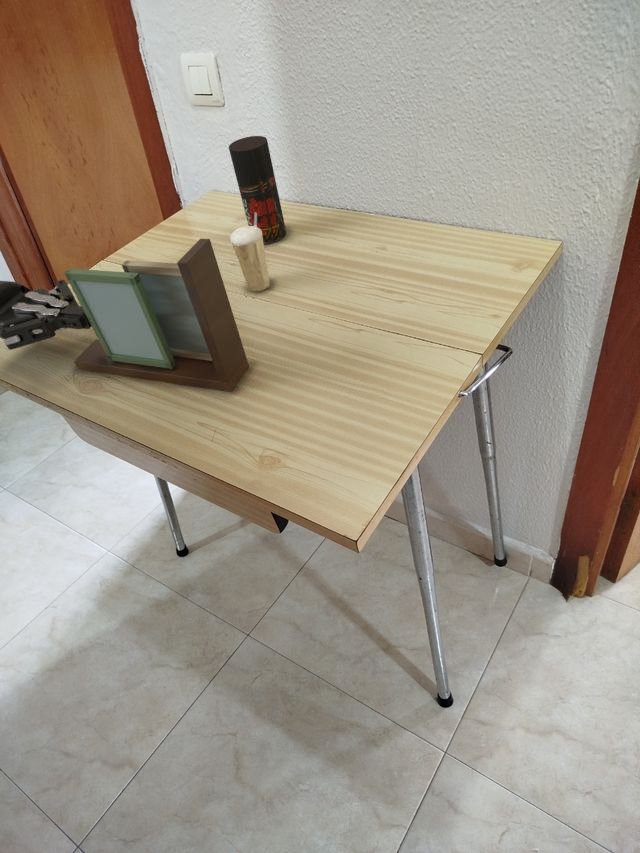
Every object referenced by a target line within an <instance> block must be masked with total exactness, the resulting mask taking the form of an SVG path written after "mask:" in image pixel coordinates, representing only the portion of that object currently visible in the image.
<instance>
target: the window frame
mask: <svg viewBox="0 0 640 853" xmlns="http://www.w3.org/2000/svg"><path fill="white" fill-rule="evenodd" d="M121 267H122V270H123V272H129V273H138V274H139V276H140V279H141V281H142V284H143V286H144V288H145V291H146V293H147V296H148V298H149V300H150V303H151V305H152V308H153V310H154V312H155V315H156V317H157V320H158V322H159V324H160V327H161V329H162V332H163V334H164V336H165V339H166V341H167V343H168V346H169V348H170V351H171V353H172V355H173V358H174V360H175V362H176V365H175V366H174V367H173V369H169V368H162V367H155V366H147V365H140V364H133V363H125V362H118V361H111V360H109V359H108V357H107V355H106V353H105V351H104V349H103V347H102V345H101V343H100V341H99V340H98V338H97V339H96V338H95V339H94V340H93V341H92V342H91V343H90V344H89V345H88V346H87V347H86V348H85V349H84V350H83V351H82V352H81V354H80V355H79V356H77V357H76V358H75V360H74V361H73V363H74V365H75V367H76V368H77V370H81V371H87V372H92V373H93V372H94V373H99V374H107V375H115V376H122V377H127V378H133V379H140V380H148V381H155V382H161V383H162V382H163V383H167V384H175V385H182V386H189V387H195V388H203V389H208V390H209V389H210V390H217V391H223V392H230V393H231V392H233V390H234V389H235V387H236V386H237V384H238V383H239V381H240V380H241V378H242V377H243V376H244V374H245V373H246V371H248V368H250V365H249V361H248V359H247V355H246V352H245V348H244V344H243V342H242V339H241V335H240V331H239V329H238V325H237V322H236V319H235V316H234V312H233V309H232V306H231V303H230V299H229V296H228V293H227V290H226V287H225V284H224V280H223V276H222V274H221V271H220V267H219V264H218V260H217V258H216V254H215V250H214V248H213V244H212V241H211V239H210V238H199V239H198V240H197V242H195V243H194V245H192V247H191V248H190V249H189V250H188V251H186V253H185V254H184V255H183V256H181V258H180V259H179V260H178V261H177V262H175V263H174V262H160V261H142V260H125V261H124V262H123V263H122V264H121Z"/></svg>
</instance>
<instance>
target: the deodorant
mask: <svg viewBox="0 0 640 853" xmlns="http://www.w3.org/2000/svg"><path fill="white" fill-rule="evenodd" d="M228 151H229V155H230V159H231V162H232V167H233V170H234V174H235V178H236V183H237V186H238V190H239V194H240V198H241V201H242V206H243V209H244V213H245V217H246V221H247V226H254V213H257V228H259V229H261V231H262V235H263V243H264V245H271V244H274V243H277V242H280V241H281V240H283V239H284V238H285V237H286V236H287V228H286V224H285V218H284V214H283V209H282V205H281V200H280V196H279V191H278V185H277V181H276V175H275V171H274V166H273V162H272V156H271V152H270V148H269V143H268V139H267V137H265V136H264V135H263V136H262V135H250V136H246V137H241V138H239V139H237V140H234V141H233V142H231V143H230V144H229V146H228Z"/></svg>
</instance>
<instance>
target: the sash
mask: <svg viewBox="0 0 640 853" xmlns="http://www.w3.org/2000/svg"><path fill="white" fill-rule="evenodd" d="M63 274H64V276H65V277H66V280H67V281H68V284H69V285H70V287H71V289H72V291H73V294H74V296H75V297H76V299H77V301H78V302H79V303H78V304H79V306H81V307H82V309H83V310H84V312H85V314H86V316H87V318H88V320H89V322H90V324H91V326H92V327H91V328H92V330H93V332H94V334H95V336H96V338H97V339H98V340H99V341H100V343H101V345H102V347H103V349H104V351H105V353H106V355H107V357H108V359H109V360H111V361H118V362H125V363H133V364H140V365H147V366H155V367H162V368H169V369H173V367H174V366H175V365H176V362H175V360H174V358H173V355H172V353H171V351H170V348H169V346H168V343H167V341H166V339H165V336H164V334H163V332H162V329H161V327H160V324H159V322H158V320H157V317H156V315H155V312H154V310H153V308H152V305H151V303H150V300H149V298H148V296H147V293H146V291H145V288H144V286H143V284H142V281H141V279H140V276H139V274H138V273H129V272H124V271H112V270H100V269H99V270H97V269H83V268H68V269H67V270H65V271H64V272H63Z"/></svg>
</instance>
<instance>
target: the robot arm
mask: <svg viewBox="0 0 640 853" xmlns="http://www.w3.org/2000/svg"><path fill="white" fill-rule="evenodd" d="M55 285H56V286H54V288H53V289H50V290H47V289H46V288H39V289H30V288H29V287H26V286H25V285H24V284H21V283H20V282H17V281H11V280H10V281H9V280H0V339H1V340H2V341H3V343H4V344H5V346H6V347H7V349H8V350H9V351H12V350H15V349H19V348H22V347H25V346H28V345H32V344H35V343H38V342H42V341H45V340H48V339H52V338H54V337H55V336H56V334H57V333H56V332H57V331H65V330H67V329H73V330H89V329H91V328H92V326H91V324H90V322H89V320H88V318H87V316H86V314H85V312H84V310H83V309H82V307H81V305H80V304H79V303H78V302H77V300H76V298H75V297H76V296H75V294H74V293H73V292H72V290H71V289H70V287H69V285H68V283H67V282H66V280H65V279H59V280H57V281H56V282H55Z"/></svg>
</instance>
